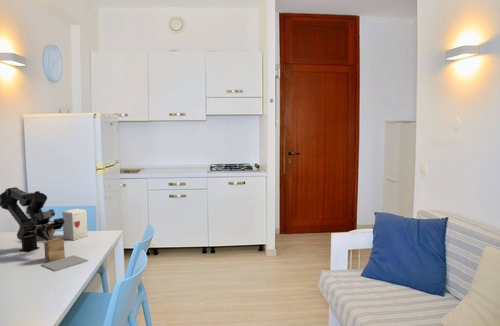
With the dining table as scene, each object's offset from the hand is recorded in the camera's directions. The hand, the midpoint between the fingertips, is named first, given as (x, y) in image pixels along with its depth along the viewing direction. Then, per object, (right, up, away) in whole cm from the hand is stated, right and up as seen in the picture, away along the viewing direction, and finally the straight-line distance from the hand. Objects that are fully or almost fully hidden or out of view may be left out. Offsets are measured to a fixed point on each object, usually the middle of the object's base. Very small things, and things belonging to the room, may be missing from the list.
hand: (50, 241), depth 183 cm
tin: (-20, -5, +34) cm, 40 cm away
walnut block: (+3, -8, -1) cm, 9 cm away
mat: (+10, -8, -6) cm, 14 cm away
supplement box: (-3, -5, +34) cm, 34 cm away
